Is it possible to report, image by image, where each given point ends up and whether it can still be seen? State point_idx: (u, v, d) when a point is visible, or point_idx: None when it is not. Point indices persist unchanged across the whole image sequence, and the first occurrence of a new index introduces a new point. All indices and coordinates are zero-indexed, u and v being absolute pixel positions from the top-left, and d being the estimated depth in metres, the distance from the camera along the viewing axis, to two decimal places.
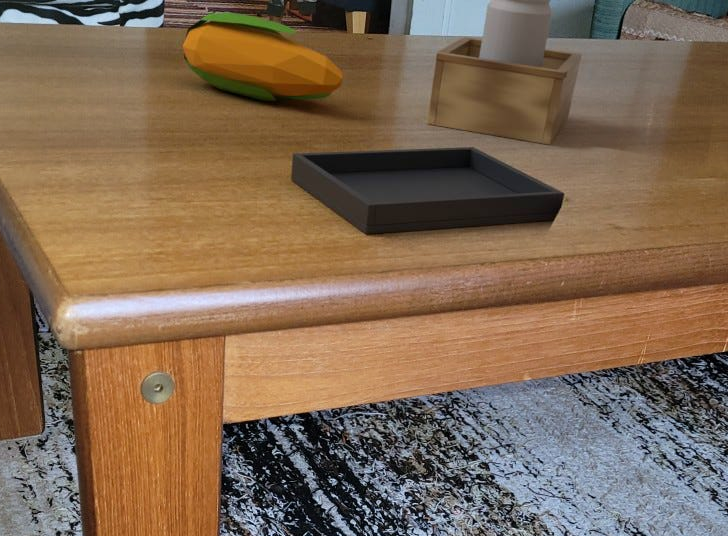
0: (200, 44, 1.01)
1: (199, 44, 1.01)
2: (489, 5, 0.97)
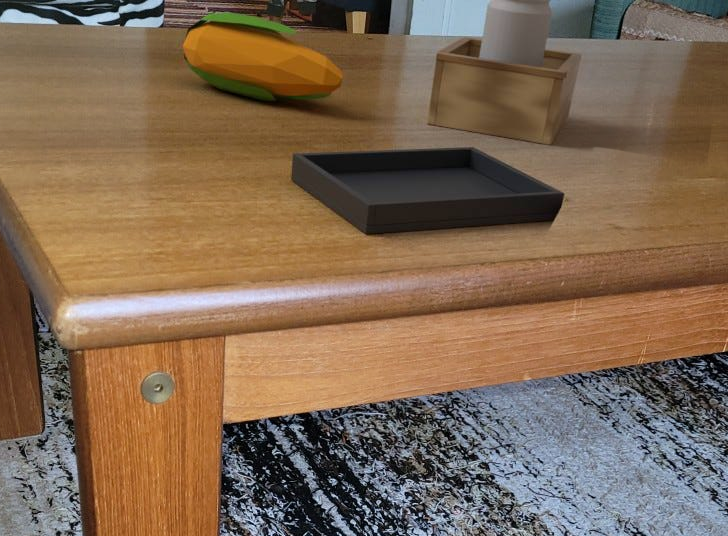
0: (200, 44, 1.01)
1: (199, 44, 1.01)
2: (489, 5, 0.97)
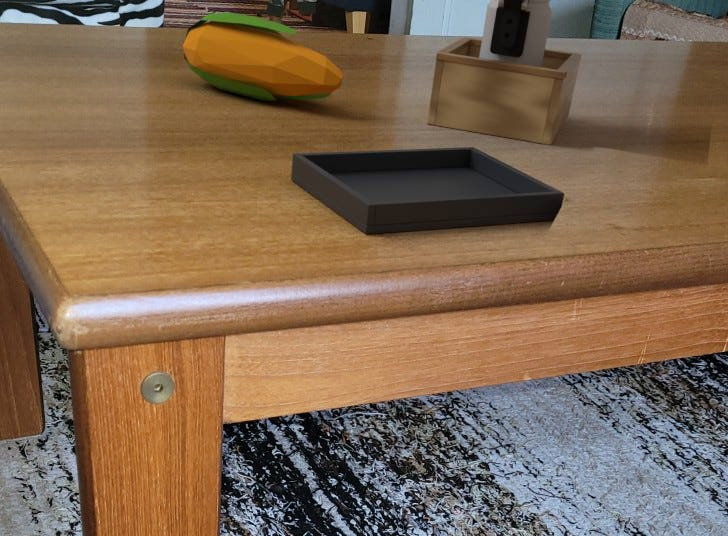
0: (200, 44, 1.01)
1: (199, 44, 1.01)
2: (489, 5, 0.97)
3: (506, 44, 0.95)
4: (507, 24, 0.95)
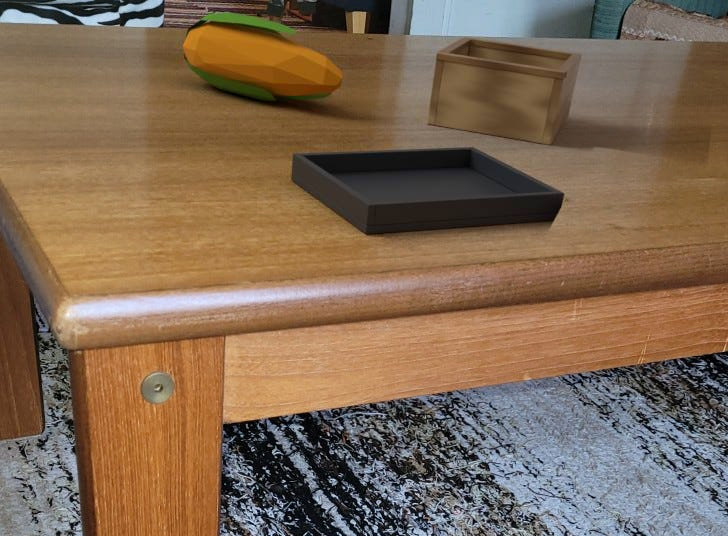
0: (200, 44, 1.01)
1: (199, 44, 1.01)
2: None
3: None
4: None
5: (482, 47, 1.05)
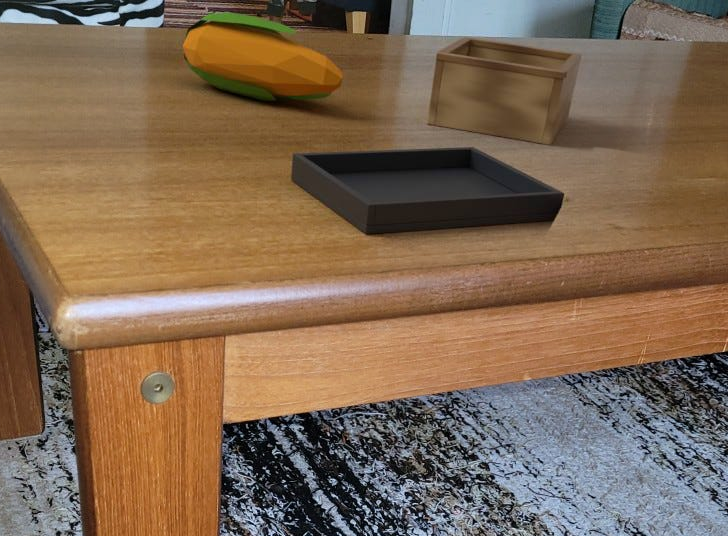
0: (200, 44, 1.01)
1: (199, 44, 1.01)
2: None
3: None
4: None
5: (482, 47, 1.05)
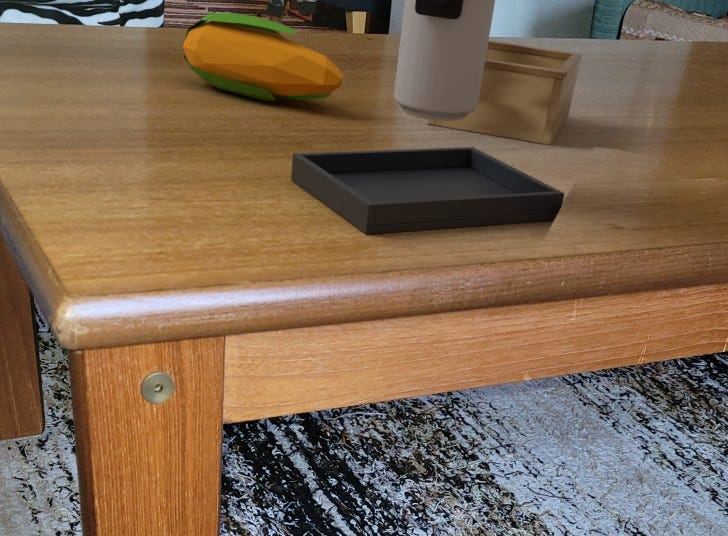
0: (200, 44, 1.01)
1: (199, 44, 1.01)
2: None
3: (437, 0, 0.67)
4: None
5: None
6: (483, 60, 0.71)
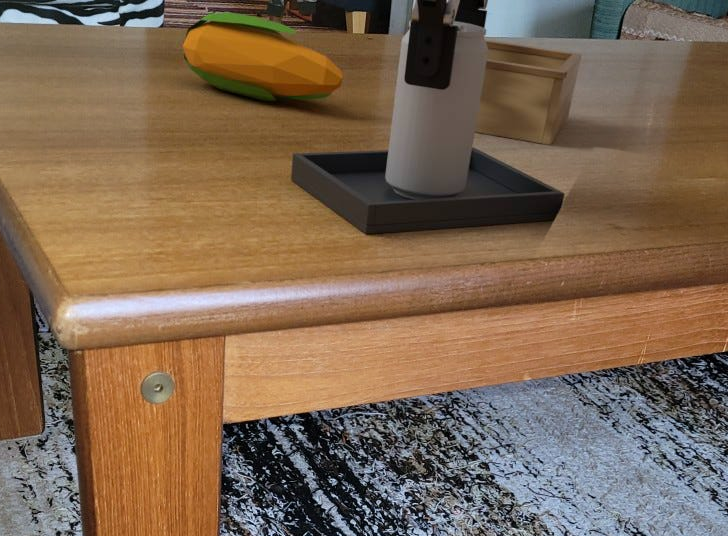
0: (200, 44, 1.01)
1: (199, 44, 1.01)
2: (403, 40, 0.72)
3: (425, 72, 0.68)
4: (426, 44, 0.67)
5: None
6: (470, 145, 0.75)
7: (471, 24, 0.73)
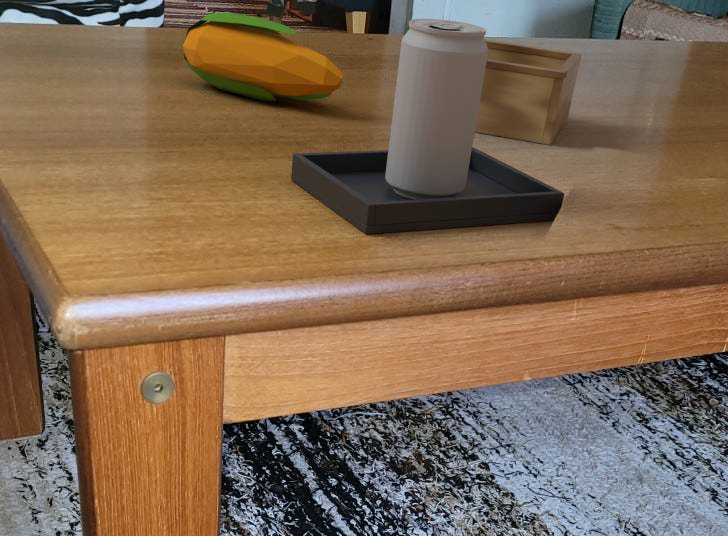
0: (200, 44, 1.01)
1: (199, 44, 1.01)
2: (403, 40, 0.72)
3: None
4: None
5: None
6: (470, 145, 0.75)
7: (471, 24, 0.73)
